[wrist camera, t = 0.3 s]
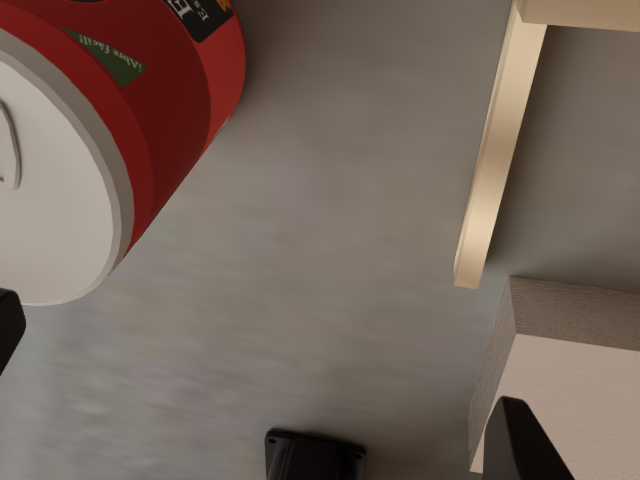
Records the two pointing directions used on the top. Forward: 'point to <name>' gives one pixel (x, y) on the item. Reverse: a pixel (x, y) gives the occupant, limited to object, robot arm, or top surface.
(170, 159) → the canned food
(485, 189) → the birch dock
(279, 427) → the top surface
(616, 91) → the top surface
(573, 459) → the white flat block
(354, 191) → the top surface
